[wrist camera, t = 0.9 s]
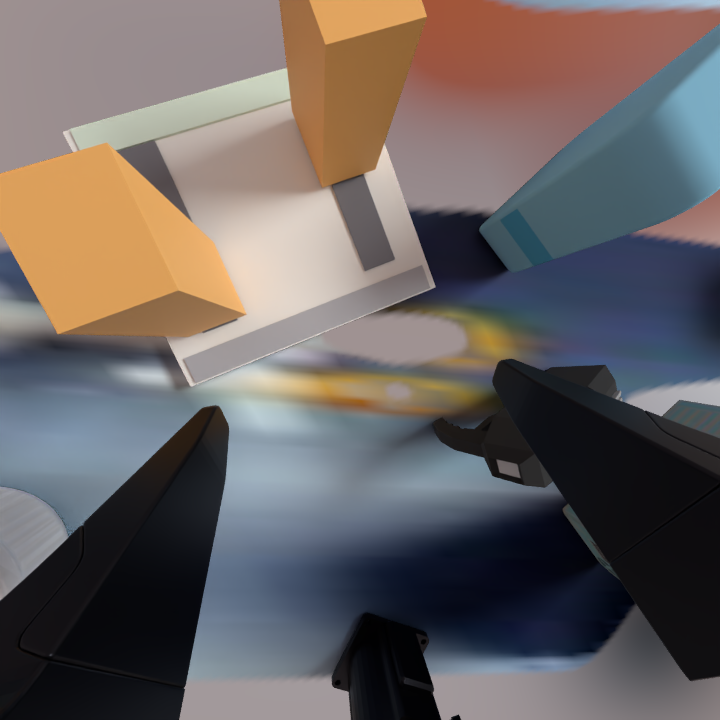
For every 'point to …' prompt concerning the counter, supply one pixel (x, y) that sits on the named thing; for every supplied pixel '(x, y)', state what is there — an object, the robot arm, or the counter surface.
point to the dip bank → (269, 218)
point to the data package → (622, 167)
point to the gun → (505, 441)
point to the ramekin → (25, 535)
